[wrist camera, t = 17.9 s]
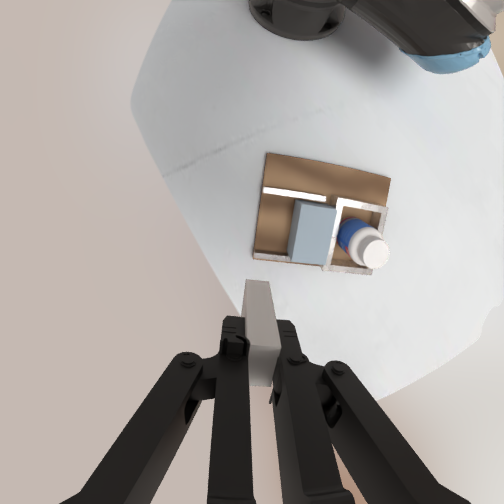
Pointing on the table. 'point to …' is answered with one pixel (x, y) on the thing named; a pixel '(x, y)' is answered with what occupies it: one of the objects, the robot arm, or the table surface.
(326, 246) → the block
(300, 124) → the table surface
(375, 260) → the pill bottle
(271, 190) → the rails
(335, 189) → the board
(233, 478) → the robot arm
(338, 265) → the socket
